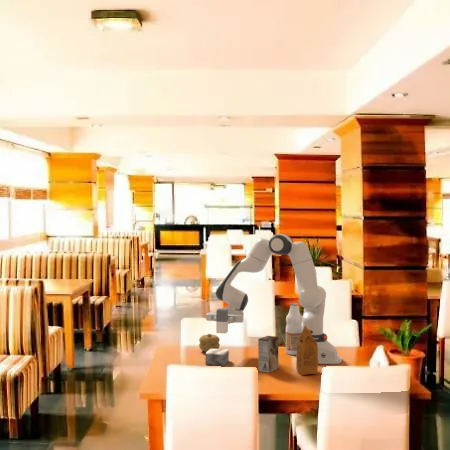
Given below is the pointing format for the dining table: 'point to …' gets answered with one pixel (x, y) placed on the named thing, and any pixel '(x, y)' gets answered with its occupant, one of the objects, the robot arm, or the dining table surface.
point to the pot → (209, 342)
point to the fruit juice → (293, 329)
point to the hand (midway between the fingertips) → (221, 320)
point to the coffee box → (268, 353)
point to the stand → (217, 356)
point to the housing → (222, 321)
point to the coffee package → (307, 353)
